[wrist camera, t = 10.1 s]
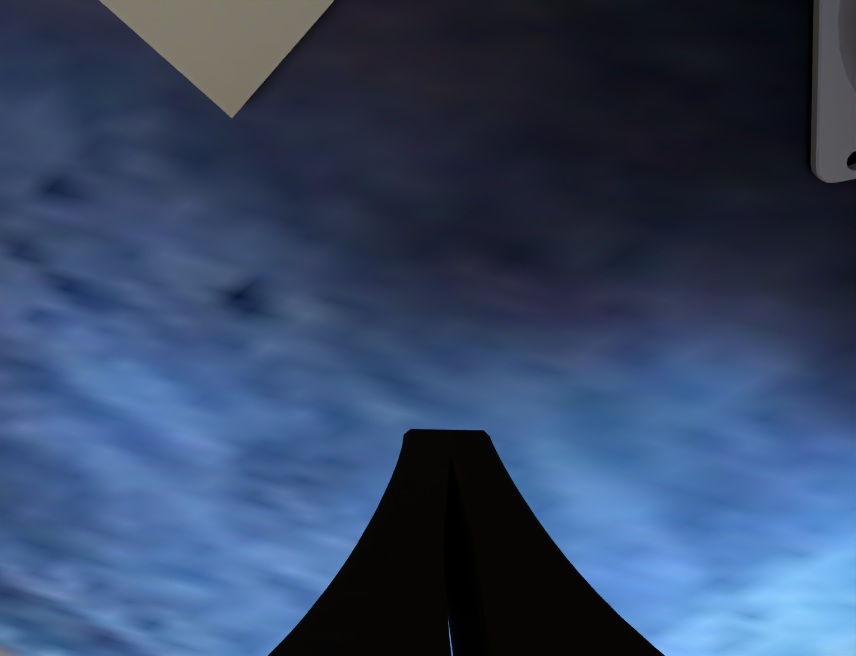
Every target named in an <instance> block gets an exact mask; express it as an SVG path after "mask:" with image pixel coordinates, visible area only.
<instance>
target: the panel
mask: <svg viewBox="0 0 856 656" xmlns="http://www.w3.org/2000/svg"><path fill="white" fill-rule="evenodd" d="M100 1H101V2H102V3H103V4H104V5H105V6H106V7H107V8H109V9H110V10H111V11H112V12H113V13H114V14H115V15H116V16H118V17H119V18H120V19H121V20H122V21H123V22H124V23H125V24H127V25H128V26H129V27H130V28H131V29H132V30H133V31H134V32H136V33H137V34H138V35H139V36H140V37H141V38H142V39H143V40H145V41H146V42H147V43H148V44H149V45H150V46H151V47H152V48H154V49H155V50H156V51H157V52H158V53H159V54H160V55H161V56H163V57H164V58H165V59H166V60H167V61H168V62H169V63H170V64H172V65H173V66H174V67H175V68H176V69H177V70H178V71H179V72H181V73H182V74H183V75H184V76H185V77H186V78H187V79H188V80H190V81H191V82H192V83H193V84H194V85H195V86H196V87H197V88H199V89H200V90H201V91H202V92H203V93H204V94H205V95H206V96H208V97H209V98H210V99H211V100H212V101H213V102H214V103H215V104H217V105H218V106H219V107H220V108H221V109H222V110H223V111H224V112H226V113H227V114H228V115H229V116H230V117H231V118H233V116H234V115H235V114H236V113H237V112H238V111H239V109H240V108H241V107H242V106H243V105H244V104H245V103H246V101H247V100H248V99H249V98H250V97H251V96H252V94H253V93H254V92H255V91H256V90H257V89H258V88H259V86H260V85H261V84H262V83H263V82H264V81H265V80H266V78H267V77H268V76H269V75H270V74H271V73H272V71H273V70H274V69H275V68H276V67H277V66H278V65H279V63H280V62H281V61H282V60H283V59H284V58H285V57H286V55H287V54H288V53H289V52H290V51H291V50H292V48H293V47H294V46H295V45H296V44H297V43H298V42H299V40H300V39H301V38H302V37H303V36H304V35H305V33H306V32H307V31H308V30H309V29H310V28H311V27H312V25H313V24H314V23H315V22H316V21H317V20H318V19H319V17H320V16H321V15H322V14H323V13H324V12H325V10H326V9H327V8H328V7H329V6H330V5H331V4H332V2H333V1H334V0H100Z"/></svg>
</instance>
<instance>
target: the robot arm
mask: <svg viewBox="0 0 856 656" xmlns="http://www.w3.org/2000/svg"><path fill="white" fill-rule="evenodd" d="M855 151H856V0H814V12H813V66H812V119H811V169H812V172H813V173H814V174H815V176H816V177H818V178H819V179H821V180H822V181H825V182H827V183H836V182H841V181H846V180H851V179H856V163H855V164H852V165H850V166H847V163H846V162H847V159H848V157H849V156H850V155H851V153H852V152H855ZM448 621H449V625H448ZM449 628H450V636H451V644H452V651H453V656H665V655H664V654H662V653H661V652H660V651H659V650H658V649H656V648H655V647H654V646H653V645H652V644H651V643H650V642H649V641H647V640H646V639H645V638H644V637H643V636H642V635H641V634H640V633H638V632H637V631H636V630H635V629H634V628H633V627H632V626H631V625H630V624H628V623H627V622H626V621H625V620H624V619H623V618H622V617H621V616H620V615H618V613H617V612H616V611H615V610H614V609H613V608H612V607H611V606H610V605H609V604H608V603H607V602H606V601H605V600H604V599H603V598H602V597H601V596H600V595H599V594H598V593H597V592H596V591H595V590H594V589H593V588H592V587H591V585H590V584H589V583H588V582H587V581H586V580H585V579H584V578H583V577H582V576H581V574H580V573H579V572H578V571H577V570H576V569H575V567H574V566H573V565H572V564H571V563H570V561H569V560H568V559H567V558H566V557H565V555H564V554H563V553H562V552H561V550H560V549H559V548H558V546H557V545H556V544H555V542H554V541H553V540H552V539H551V537H550V536H549V535H548V533H547V532H546V531H545V529H544V528H543V526H542V525H541V524H540V522H539V521H538V519H537V518H536V516H535V515H534V513H533V512H532V510H531V509H530V507H529V506H528V504H527V503H526V501H525V500H524V498H523V497H522V495H521V494H520V492H519V491H518V489H517V487H516V486H515V484H514V482H513V481H512V479H511V477H510V476H509V474H508V472H507V470H506V469H505V467H504V465H503V463H502V461H501V459H500V457H499V455H498V453H497V452H496V449H495V447H494V445H493V443H492V441H491V438H490V436H489V435H488V434H487V433H486V432H485V431H484V430H435V429H410V430H409V431H408V432H406V433H405V434H404V437H403V444H402V448H401V452H400V455H399V459H398V462H397V464H396V467H395V470H394V472H393V475H392V477H391V480H390V482H389V484H388V486H387V488H386V491H385V493H384V495H383V497H382V499H381V501H380V503H379V505H378V508H377V510H376V511H375V513H374V515H373V517H372V519H371V520H370V522H369V524H368V526H367V527H366V529H365V531H364V533H363V534H362V536H361V538H360V540H359V541H358V543H357V545H356V546H355V548H354V550H353V551H352V553H351V554H350V556H349V557H348V559H347V561H346V562H345V563H344V565H343V566H342V568H341V569H340V571H339V572H338V574H337V575H336V576H335V578H334V579H333V581H332V582H331V583H330V585H329V586H328V587H327V589H326V590H325V591H324V593H323V594H322V595H321V596H320V598H319V599H318V600H317V601H316V603H315V604H314V605H313V606H312V608H311V609H310V610H309V611H308V613H307V614H306V615H305V616H304V617H303V619H302V620H301V621H300V622H299V623H298V624H297V626H296V627H295V628H294V629H293V630H292V631H291V632H290V633H289V634H288V635H287V636H286V638H285V639H284V640H283V641H282V642H281V643H280V644H279V645H278V646H277V647H276V648H275V649H274V650H273V651H272V652H271V653H270V654H269V655H268V656H451V647H450V637H449Z"/></svg>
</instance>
